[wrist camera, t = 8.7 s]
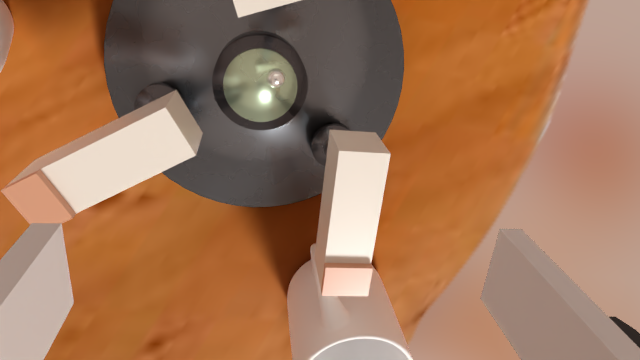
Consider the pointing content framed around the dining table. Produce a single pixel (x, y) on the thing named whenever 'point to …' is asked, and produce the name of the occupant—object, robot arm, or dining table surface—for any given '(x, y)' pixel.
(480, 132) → the dining table surface
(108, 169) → the handle
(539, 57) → the dining table surface
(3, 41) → the mug
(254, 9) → the knob
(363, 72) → the base
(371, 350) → the mug
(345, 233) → the handle
